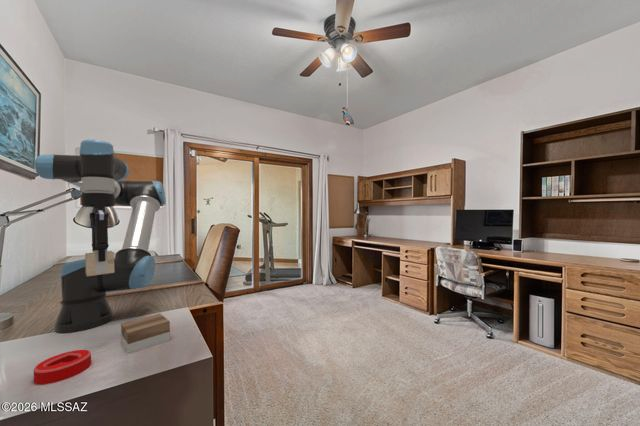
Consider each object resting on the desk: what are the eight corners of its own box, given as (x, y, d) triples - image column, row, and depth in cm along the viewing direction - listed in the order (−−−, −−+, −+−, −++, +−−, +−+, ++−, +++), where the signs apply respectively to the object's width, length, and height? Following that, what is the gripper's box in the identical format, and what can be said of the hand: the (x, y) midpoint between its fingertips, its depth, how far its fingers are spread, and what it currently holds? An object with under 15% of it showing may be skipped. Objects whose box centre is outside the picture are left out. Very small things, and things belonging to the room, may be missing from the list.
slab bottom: (120, 344, 75) (120, 334, 75) (160, 332, 82) (159, 323, 82) (127, 356, 68) (127, 344, 68) (169, 341, 75) (169, 331, 75)
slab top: (121, 333, 75) (121, 323, 75) (160, 323, 82) (160, 313, 83) (127, 344, 68) (127, 333, 68) (170, 331, 76) (169, 321, 76)
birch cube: (85, 273, 76) (85, 253, 76) (111, 270, 80) (111, 251, 80) (86, 276, 72) (86, 254, 72) (114, 272, 76) (114, 252, 76)
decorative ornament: (87, 357, 68) (87, 345, 68) (94, 369, 62) (94, 356, 62) (32, 375, 61) (32, 361, 61) (34, 391, 54) (34, 376, 54)
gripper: (79, 196, 80) (81, 270, 80) (83, 188, 67) (85, 278, 66) (110, 196, 86) (111, 266, 85) (119, 190, 73) (121, 272, 72)
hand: (100, 271), depth 76 cm, fingers closed on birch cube, 6 cm apart
